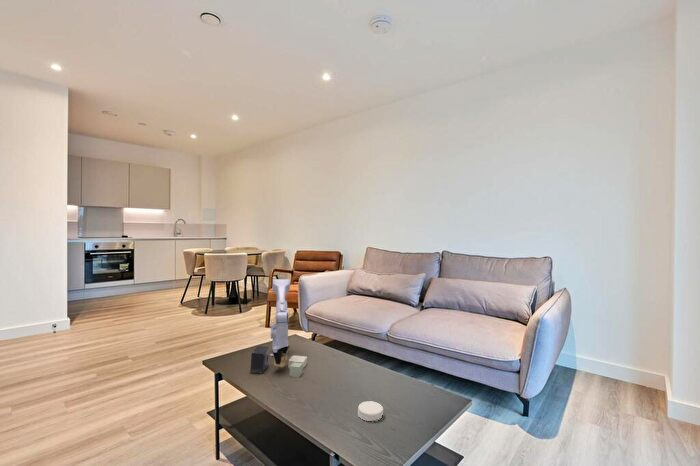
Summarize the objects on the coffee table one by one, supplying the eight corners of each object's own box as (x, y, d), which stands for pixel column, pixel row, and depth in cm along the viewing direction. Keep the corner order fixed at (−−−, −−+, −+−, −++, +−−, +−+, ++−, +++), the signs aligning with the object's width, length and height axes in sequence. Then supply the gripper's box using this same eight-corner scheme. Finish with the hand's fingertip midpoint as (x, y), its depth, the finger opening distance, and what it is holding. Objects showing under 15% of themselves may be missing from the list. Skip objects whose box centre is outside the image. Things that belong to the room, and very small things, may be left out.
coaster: (367, 406, 137) (368, 398, 137) (387, 415, 131) (388, 406, 131) (352, 416, 129) (353, 407, 129) (373, 426, 123) (373, 416, 123)
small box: (262, 374, 164) (263, 353, 164) (249, 373, 164) (250, 352, 164) (268, 365, 174) (269, 346, 174) (256, 365, 174) (257, 345, 174)
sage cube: (293, 372, 168) (293, 362, 168) (302, 373, 167) (303, 363, 167) (289, 376, 163) (289, 366, 163) (299, 377, 162) (299, 367, 162)
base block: (292, 362, 180) (293, 355, 180) (306, 364, 179) (307, 356, 179) (287, 368, 172) (288, 360, 172) (302, 369, 171) (303, 362, 171)
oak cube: (277, 362, 172) (278, 352, 172) (286, 363, 170) (287, 353, 170) (273, 365, 167) (273, 356, 167) (282, 367, 166) (283, 357, 166)
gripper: (282, 340, 161) (281, 368, 161) (294, 332, 175) (293, 357, 175) (269, 338, 162) (268, 366, 162) (281, 330, 176) (280, 355, 176)
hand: (280, 361), depth 169 cm, fingers closed on oak cube, 5 cm apart
